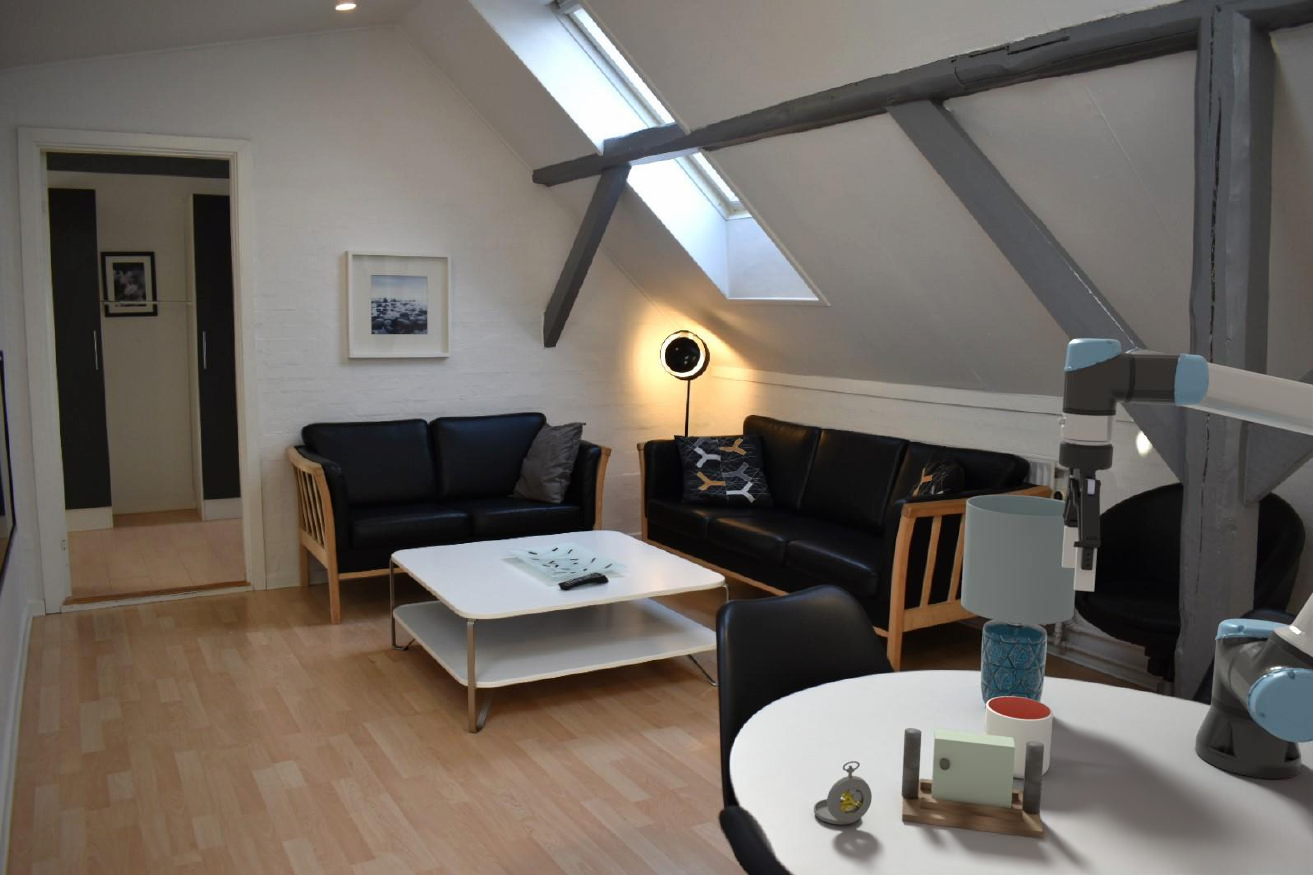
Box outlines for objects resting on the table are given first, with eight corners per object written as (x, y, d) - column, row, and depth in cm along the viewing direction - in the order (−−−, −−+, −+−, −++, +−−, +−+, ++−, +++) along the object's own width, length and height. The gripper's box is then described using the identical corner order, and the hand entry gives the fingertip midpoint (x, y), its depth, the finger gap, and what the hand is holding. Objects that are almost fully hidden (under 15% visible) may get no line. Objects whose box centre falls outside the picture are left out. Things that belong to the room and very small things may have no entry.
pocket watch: (828, 800, 158) (831, 736, 157) (879, 818, 153) (882, 752, 151) (799, 820, 152) (801, 754, 150) (851, 840, 146) (854, 771, 145)
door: (1008, 802, 156) (1013, 737, 155) (1011, 816, 152) (1015, 749, 150) (931, 792, 159) (934, 728, 157) (931, 806, 154) (935, 740, 153)
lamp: (970, 727, 185) (982, 514, 180) (944, 686, 204) (955, 493, 199) (1082, 730, 184) (1097, 517, 179) (1046, 689, 204) (1059, 495, 198)
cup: (1053, 784, 164) (1057, 723, 163) (985, 778, 166) (989, 716, 165) (1043, 757, 174) (1047, 698, 172) (979, 751, 176) (983, 693, 174)
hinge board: (1034, 798, 159) (1039, 728, 158) (1043, 838, 148) (1048, 763, 146) (901, 783, 164) (905, 714, 162) (900, 820, 152) (904, 747, 151)
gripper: (1050, 430, 173) (1042, 557, 176) (1071, 451, 149) (1061, 598, 152) (1099, 432, 172) (1090, 560, 174) (1129, 454, 147) (1118, 602, 150)
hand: (1077, 578), depth 163 cm, fingers open, 13 cm apart
